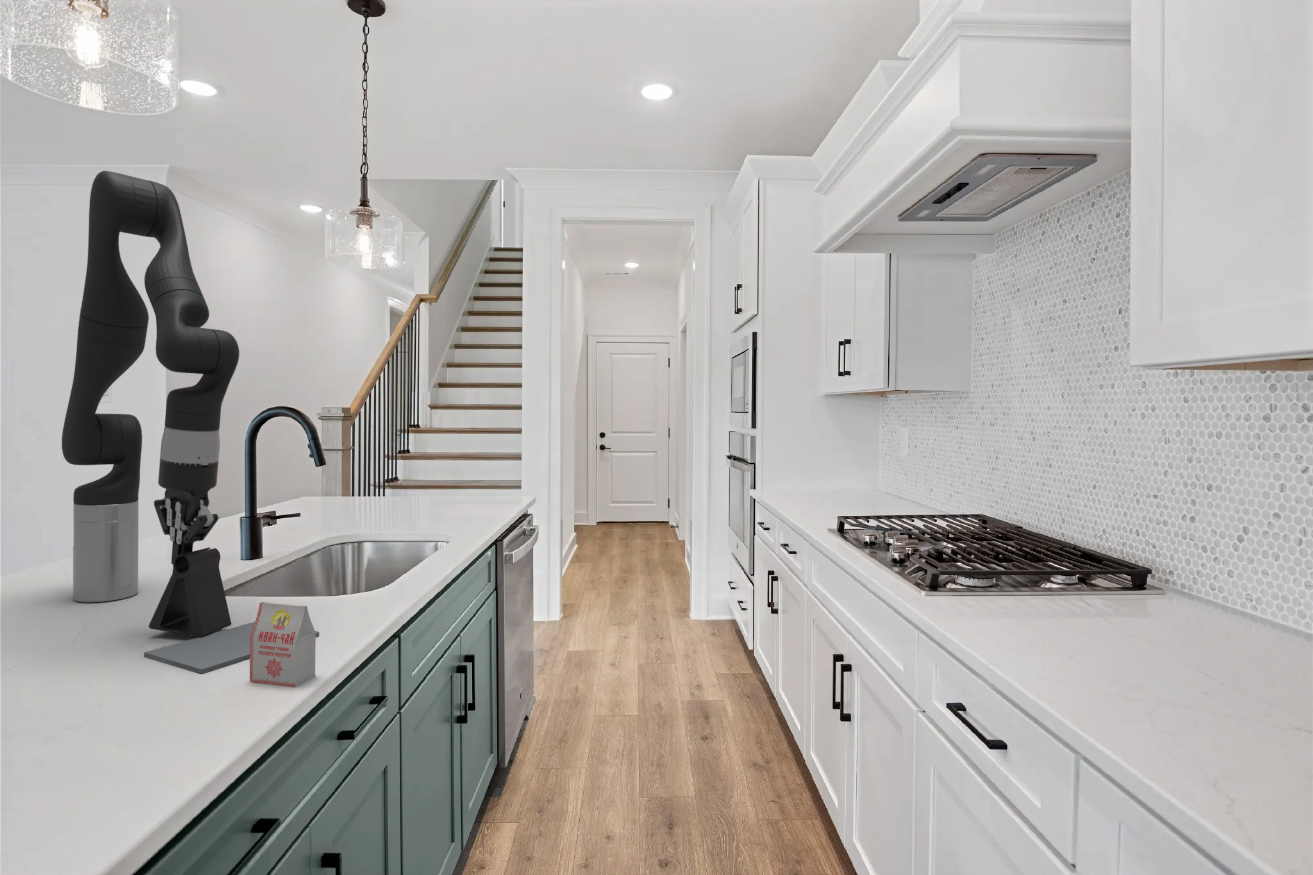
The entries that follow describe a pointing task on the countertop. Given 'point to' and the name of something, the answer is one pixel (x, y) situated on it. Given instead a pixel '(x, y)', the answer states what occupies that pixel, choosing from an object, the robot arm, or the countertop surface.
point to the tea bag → (282, 645)
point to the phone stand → (193, 596)
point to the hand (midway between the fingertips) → (181, 564)
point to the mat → (208, 650)
